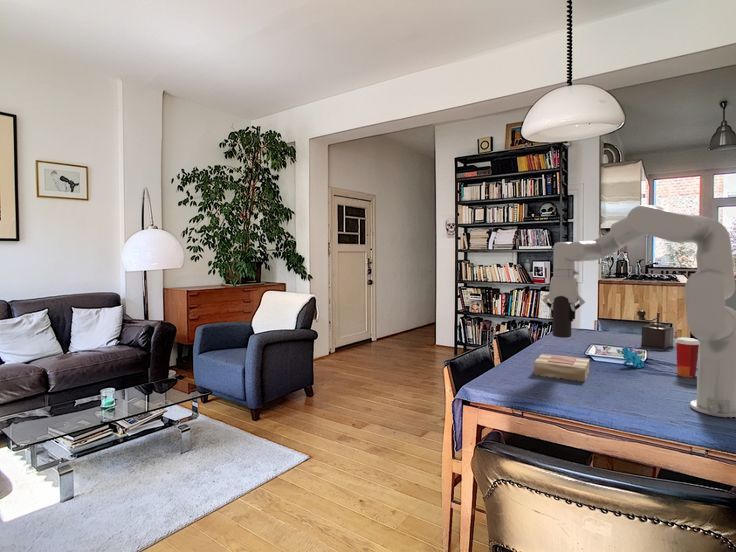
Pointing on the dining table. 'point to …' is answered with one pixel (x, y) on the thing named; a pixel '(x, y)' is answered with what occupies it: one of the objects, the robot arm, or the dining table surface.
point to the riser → (562, 367)
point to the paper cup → (687, 356)
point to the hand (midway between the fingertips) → (563, 319)
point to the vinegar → (561, 317)
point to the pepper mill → (655, 333)
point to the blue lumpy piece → (632, 357)
